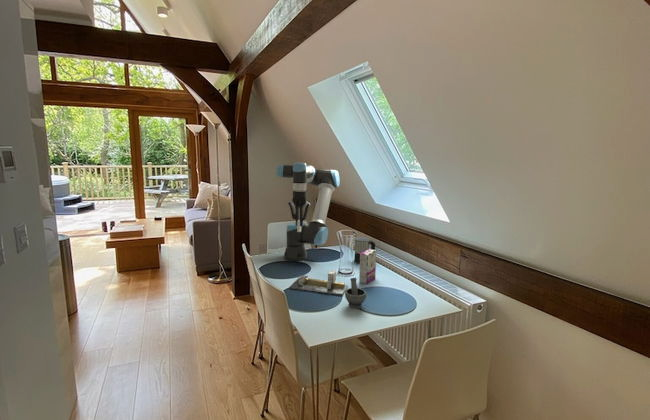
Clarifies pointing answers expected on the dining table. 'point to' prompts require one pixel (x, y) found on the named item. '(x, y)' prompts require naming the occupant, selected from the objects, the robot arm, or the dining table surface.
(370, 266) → the candy bar box
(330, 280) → the block
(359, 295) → the mortar and pestle
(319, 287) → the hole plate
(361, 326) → the dining table surface
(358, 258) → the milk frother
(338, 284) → the beam
